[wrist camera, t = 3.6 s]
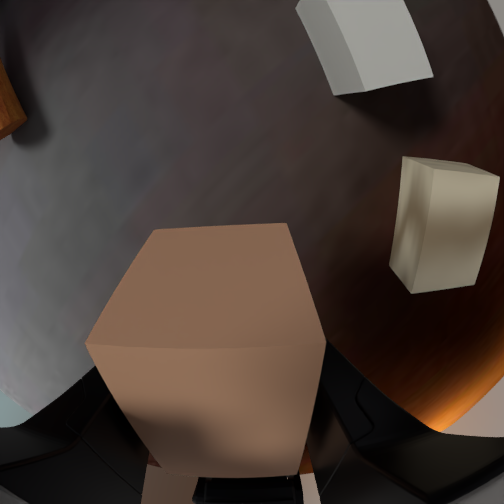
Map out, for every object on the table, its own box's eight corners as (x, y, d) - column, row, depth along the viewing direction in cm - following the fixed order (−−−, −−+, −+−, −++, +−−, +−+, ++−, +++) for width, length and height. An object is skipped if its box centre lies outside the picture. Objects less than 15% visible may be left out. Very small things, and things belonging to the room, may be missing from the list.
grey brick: (389, 81, 15) (433, 76, 10) (333, 95, 15) (365, 91, 11) (353, -2, 12) (386, -30, 8) (295, 8, 13) (313, -24, 8)
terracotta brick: (282, 363, 12) (296, 474, 7) (184, 365, 11) (167, 473, 7) (286, 222, 9) (326, 342, 4) (154, 229, 9) (84, 343, 4)
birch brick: (447, 258, 21) (474, 284, 17) (387, 263, 21) (411, 293, 17) (464, 162, 17) (499, 177, 13) (401, 155, 17) (434, 169, 13)
